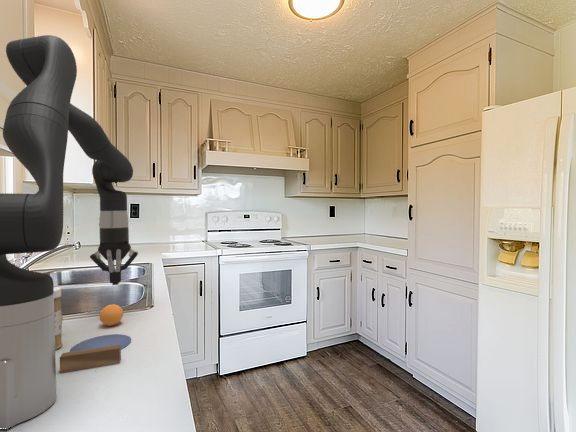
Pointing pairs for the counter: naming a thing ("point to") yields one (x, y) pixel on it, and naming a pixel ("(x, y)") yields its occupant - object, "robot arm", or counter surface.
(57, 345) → the sprinkles bottle
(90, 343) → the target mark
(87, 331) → the counter surface
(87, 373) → the counter surface
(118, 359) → the stopper wall
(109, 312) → the ball
